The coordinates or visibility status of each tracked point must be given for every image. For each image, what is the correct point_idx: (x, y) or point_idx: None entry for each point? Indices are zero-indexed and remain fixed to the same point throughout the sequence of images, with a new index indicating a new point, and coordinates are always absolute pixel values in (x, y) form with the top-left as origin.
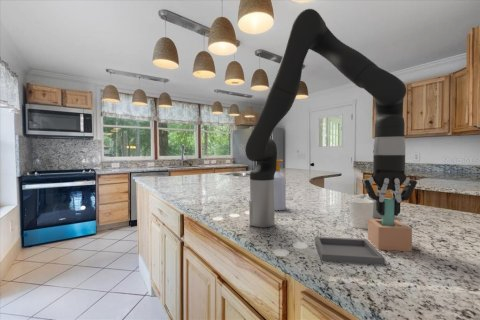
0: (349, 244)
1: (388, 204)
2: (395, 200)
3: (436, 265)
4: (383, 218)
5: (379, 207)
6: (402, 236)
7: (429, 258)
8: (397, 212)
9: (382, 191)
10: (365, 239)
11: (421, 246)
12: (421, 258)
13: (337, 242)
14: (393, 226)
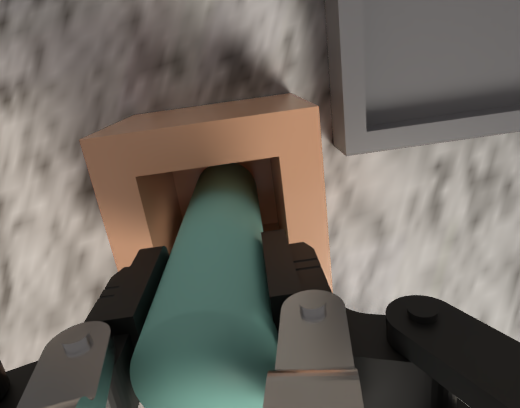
0: (433, 116)
1: (223, 277)
2: (122, 354)
3: (45, 5)
4: (258, 230)
5: (309, 268)
6: (158, 121)
7: (58, 93)
8: (139, 258)
9: (342, 392)
10: (353, 149)
11: (60, 246)
12: (96, 81)
13: (501, 108)
14: (201, 158)
